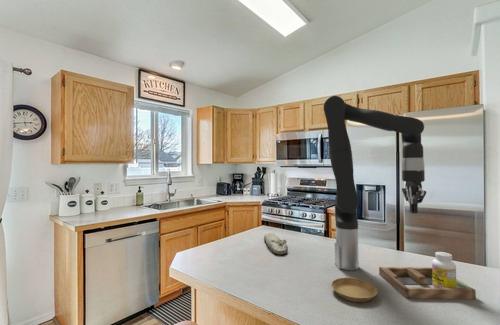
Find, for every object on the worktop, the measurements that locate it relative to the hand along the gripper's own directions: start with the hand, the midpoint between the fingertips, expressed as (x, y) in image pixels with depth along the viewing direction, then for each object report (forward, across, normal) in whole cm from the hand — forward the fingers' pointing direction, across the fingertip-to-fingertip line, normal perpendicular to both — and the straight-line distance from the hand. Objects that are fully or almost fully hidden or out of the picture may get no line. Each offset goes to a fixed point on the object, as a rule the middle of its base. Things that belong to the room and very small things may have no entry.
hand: (413, 213), depth 99 cm
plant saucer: (+26, +14, -28) cm, 41 cm away
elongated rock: (+26, -39, -54) cm, 72 cm away
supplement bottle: (+26, +10, +4) cm, 28 cm away
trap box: (+25, +7, -1) cm, 26 cm away
